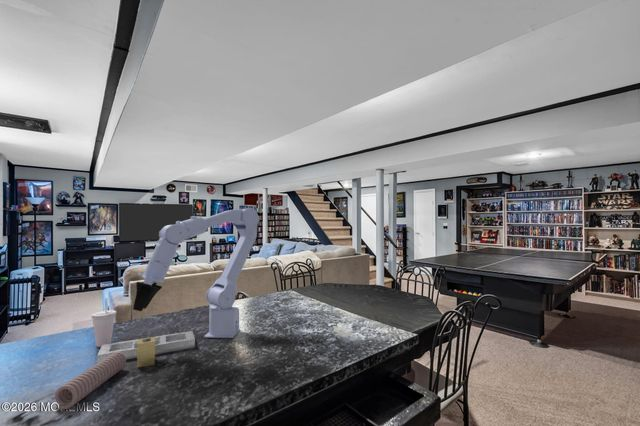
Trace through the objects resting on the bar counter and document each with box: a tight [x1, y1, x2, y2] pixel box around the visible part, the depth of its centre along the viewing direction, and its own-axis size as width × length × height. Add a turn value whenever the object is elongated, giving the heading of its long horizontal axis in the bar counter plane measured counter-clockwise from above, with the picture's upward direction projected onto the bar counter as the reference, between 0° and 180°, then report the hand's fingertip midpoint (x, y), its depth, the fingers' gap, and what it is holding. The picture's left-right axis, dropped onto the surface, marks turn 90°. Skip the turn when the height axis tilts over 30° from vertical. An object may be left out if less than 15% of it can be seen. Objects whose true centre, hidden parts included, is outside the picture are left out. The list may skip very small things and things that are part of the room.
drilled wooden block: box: [134, 336, 158, 368], centre depth 82 cm, size 6×4×6 cm
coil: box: [54, 352, 127, 411], centre depth 70 cm, size 5×5×18 cm
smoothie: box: [90, 297, 117, 348], centre depth 95 cm, size 6×6×14 cm
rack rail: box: [96, 330, 196, 364], centre depth 90 cm, size 24×8×2 cm, turn 118°
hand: (139, 309), depth 86 cm, fingers open, 7 cm apart
